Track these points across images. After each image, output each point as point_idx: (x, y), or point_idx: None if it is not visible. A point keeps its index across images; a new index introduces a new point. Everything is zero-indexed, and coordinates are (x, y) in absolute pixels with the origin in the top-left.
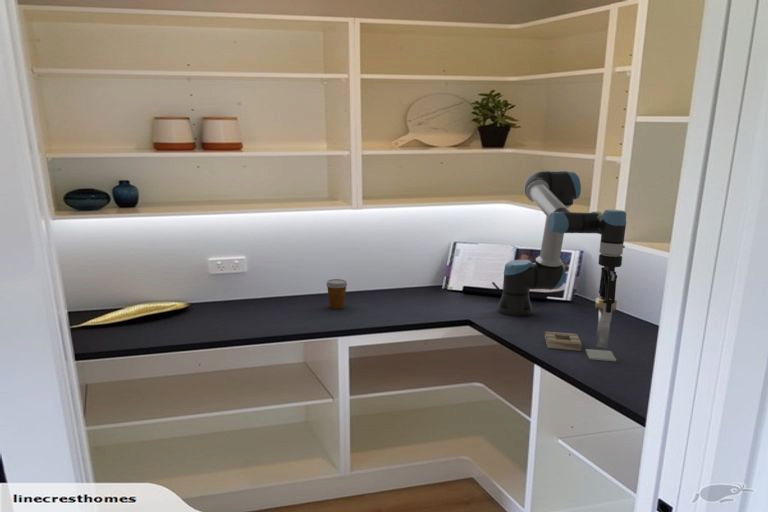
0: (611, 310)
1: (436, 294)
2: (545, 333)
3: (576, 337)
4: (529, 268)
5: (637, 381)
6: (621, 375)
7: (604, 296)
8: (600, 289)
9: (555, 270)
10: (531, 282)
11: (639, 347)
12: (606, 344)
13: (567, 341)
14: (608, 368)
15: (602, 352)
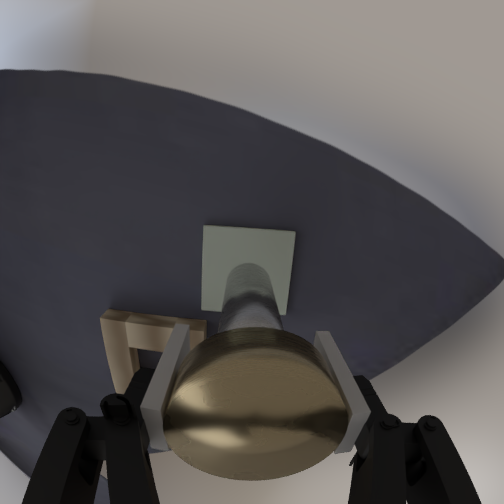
0: (349, 377)
1: (7, 445)
2: None
3: (136, 330)
4: None
5: (429, 219)
6: (399, 249)
7: (144, 431)
8: (98, 477)
9: None
10: None
11: (132, 108)
12: (268, 276)
13: None
14: (354, 272)
15: (225, 261)
